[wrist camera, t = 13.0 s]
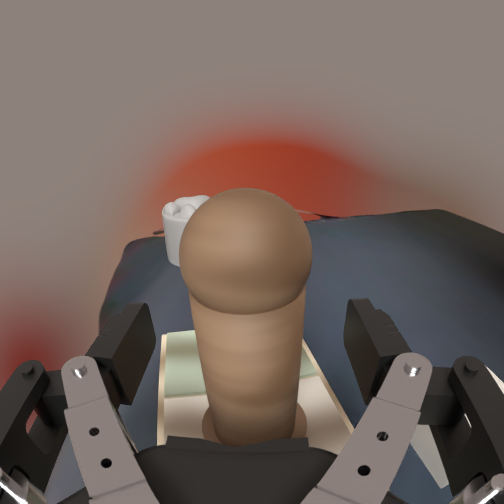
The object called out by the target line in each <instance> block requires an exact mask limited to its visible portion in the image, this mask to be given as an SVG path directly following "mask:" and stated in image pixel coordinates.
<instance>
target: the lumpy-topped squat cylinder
mask: <svg viewBox="0 0 504 504" xmlns="http://www.w3.org/2000/svg"><path fill="white" fill-rule="evenodd" d="M208 199H209V197H208V196H205V195H200V196H195V197H183V198H180V199H177V200H176V201H175V202H174V203H173V202H170V203H167V204H166V206H165V207H164V208H163V210H162V217H163V225H164V233H165V241H166V248H167V255H168V259H169V261H170V262H171V263H172V264H174V265H176V266H179V267H180V264H179V246H180V240H181V236H182V233H183V230H184V228H185V226H186V224H187V222H188V220H189V218H190V217H191V216H192V214H193V213H194V212H195V210H196V209H197V208H198V207H199V206H200V205H202V204H203V203H204V202H205V201H207V200H208Z"/></svg>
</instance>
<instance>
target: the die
mask: <svg viewBox="0 0 504 504" xmlns="http://www.w3.org/2000/svg"><path fill="white" fill-rule="evenodd" d="M487 369H488V368H487ZM488 370H489V369H488ZM489 372H490V373H491V375H492V377H493V378H494V380H495V381H496V383H497V384H498V386H499V387H500V389H501V391H502V392H503V394H504V383H503V382H502V381H501V380H500V379H499V378H498V377H497V376H496V375H495V374H494V373H493V372H492V371H491V370H489ZM465 416H466V414H465ZM466 418H467V416H466ZM467 420H468V418H467ZM468 422H469V420H468ZM469 425H470V422H469ZM470 427H471V425H470ZM410 444H411V445H412V447H413V448H414V450H415V451H416V453H417V454H418V456H419V457H420V459H421V460H422V462H423V463H424V465H425V466H426V467H427V469H428V470H429V472H430V473H431V475H432V476H433V478H434V479H435V481H436V483H437V484H438V486H439V487H440V489H442V488H443V487H445V486H446V485H448V484H449V482H448V479H447V476H446V473H445V470H444V467H443V464H442V461H441V458H440V455H439V452H438V449H437V446H436V444H435V441H434V438H433V435H432V433H431V430H430V427H429V425H417V426H416V428H415V431H414V434H413V436H412V439H411V441H410Z"/></svg>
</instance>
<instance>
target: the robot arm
mask: <svg viewBox="0 0 504 504" xmlns="http://www.w3.org/2000/svg"><path fill="white" fill-rule="evenodd" d="M155 344H156V337H155V332H154V328H153V324H152V319H151V315H150V311H149V307H148V305H147V304H146V303H128V304H127V306H126V307H125V308H124V310H123V311H122V313H121V314H117V315H116V316H114V317H113V318H112V319H110V320H109V321H108V322H107V324H106V325H105V327H104V328H103V330H102V331H101V332H100V334H99V336H98V337H97V338H96V340H95V341H94V343H93V344H92V346H91V347H90V349H89V350H88V352H87V353H86V355H85V356H78V357H75V358H72V359H70V360H69V361H67V362H66V363H65V365H64V366H63V368H62V370H56V371H46V370H45V368H44V366H43V364H42V363H41V362H40V361H37V360H30V361H26V362H24V363H22V364H21V365H19V366H18V367H17V368H16V370H15V371H14V372H13V374H12V375H11V377H10V378H9V380H8V381H7V382H6V384H5V385H4V387H3V388H2V390H1V391H0V504H46V498H45V496H44V492H45V489H46V487H47V484H48V481H49V478H50V476H51V473H52V470H53V468H54V465H55V462H56V460H57V457H58V455H59V452H60V450H61V447H62V445H63V442H64V440H65V438H66V435H67V433H68V431H69V434H70V438H71V442H72V445H73V449H74V452H75V455H76V459H77V462H78V465H79V468H80V471H81V474H82V477H83V480H84V482H85V485H86V487H84V488H82V489H81V490H79V491H78V492H76V493H74V494H73V495H71V496H69V497H68V498H66V499H64V500H63V501H61V502H59V503H57V504H408V503H406V502H405V501H403V500H402V499H400V498H399V497H397V496H396V495H394V494H393V493H391V492H390V491H388V489H389V487H390V485H391V483H392V481H393V479H394V477H395V475H396V473H397V471H398V469H399V467H400V464H401V462H402V460H403V458H404V455H405V453H406V451H407V448H408V446H409V444H410V441H411V439H412V436H413V434H414V431H415V428H416V426H417V425H429V427H430V430H431V433H432V435H433V438H434V441H435V444H436V446H437V449H438V452H439V455H440V458H441V461H442V464H443V467H444V470H445V473H446V476H447V479H448V482H449V486H450V489H451V492H452V496H453V498H452V499H451V501H450V502H449V504H504V394H503V392H502V391H501V389H500V387H499V386H498V384H497V383H496V381H495V380H494V378H493V377H492V375H491V373H490V372H489V370H488V369H487V367H486V366H485V365H484V363H482V362H481V361H480V360H478V359H477V358H474V357H470V356H463V357H460V358H458V359H456V361H455V362H454V364H453V367H452V368H441V367H432V365H431V363H430V361H429V360H428V359H427V358H425V357H424V356H422V355H420V354H417V353H412V351H411V350H410V348H409V347H408V345H407V343H406V342H405V340H404V338H403V337H402V335H401V334H400V332H398V329H397V327H396V326H395V325H394V322H393V321H392V319H391V318H390V316H389V315H387V314H386V313H385V312H383V311H382V310H380V309H379V310H375V309H374V307H373V305H372V304H371V302H370V301H369V299H368V298H363V299H350V300H349V301H348V305H347V313H346V320H345V327H344V345H345V348H346V351H347V354H348V356H349V359H350V362H351V365H352V368H353V370H354V373H355V376H356V379H357V382H358V385H359V388H360V391H361V394H362V396H363V399H364V402H365V405H369V406H368V408H367V409H366V411H365V413H364V415H363V416H362V418H361V420H360V421H359V423H358V425H357V426H356V428H355V430H354V431H353V433H352V435H351V436H350V438H349V439H348V441H347V443H346V444H345V446H344V447H343V449H342V450H341V452H340V453H339V455H337V454H335V453H332V452H330V451H327V450H324V449H320V448H316V447H309V442H308V437H305V438H291V439H272V440H268V441H264V442H259V443H255V444H250V445H245V446H240V447H233V446H228V445H224V444H220V443H216V442H212V441H209V440H205V439H201V438H190V437H179V436H170V435H168V436H167V440H166V444H165V445H158V446H153V447H150V448H147V449H144V450H142V451H139V452H138V450H137V448H136V446H135V444H134V442H133V440H132V438H131V436H130V434H129V432H128V430H127V428H126V426H125V424H124V421H123V419H122V417H121V415H120V413H119V411H118V408H119V406H120V404H124V405H131V404H132V402H133V399H134V397H135V394H136V392H137V389H138V387H139V385H140V382H141V380H142V377H143V375H144V372H145V370H146V368H147V365H148V363H149V361H150V358H151V356H152V353H153V351H154V349H155ZM33 409H34V411H35V412H36V414H37V415H38V416H37V418H36V420H35V422H34V424H33V425H32V427H31V429H30V431H29V433H28V434H27V432H26V422H27V420H28V418H29V416H30V415H31V412H32V411H33ZM465 414H466V416H467V418H468V420H469V422H470V425H471V427H470V425H469V422H468V420H467V418H466V416H465Z"/></svg>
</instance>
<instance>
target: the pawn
mask: <svg viewBox="0 0 504 504" xmlns="http://www.w3.org/2000/svg"><path fill="white" fill-rule="evenodd" d="M179 264H180V269H181V273H182V276H183V279H184V282H185V284H186V285H187V287H188V289H189V297H190V304H191V311H192V317H193V323H194V329H195V335H196V341H197V347H198V352H199V358H200V363H201V368H202V374H203V379H204V384H205V389H206V394H207V398H208V403H209V407H208V409H207V410H206V412H205V414H204V416H203V420H202V433H203V436H204V439H205V440H209V441H212V442H216V443H220V444H224V445H228V446H233V447H240V446H245V445H250V444H255V443H259V442H264V441H268V440H272V439H291V438H305V436H306V430H307V419H306V415H305V413H304V410H303V409H302V407H301V406H300V405H299V403H298V402H297V399H298V389H299V378H300V366H301V354H302V341H303V326H304V310H305V291H306V286H305V284H306V282H307V279H308V277H309V274H310V270H311V265H312V244H311V239H310V236H309V233H308V230H307V227H306V225H305V223H304V221H303V220H302V218H301V217H300V215H299V214H298V213H297V212H296V210H295V209H294V208H293V207H292V206H291V205H290V204H288V203H287V202H286V201H285V200H283V199H282V198H280V197H278V196H277V195H275V194H272V193H270V192H267V191H264V190H260V189H255V188H237V189H231V190H227V191H224V192H221V193H219V194H217V195H215V196H213V197H211V198H209V199H208V200H207V201H205V202H204V203H203V204H202V205H200V206H199V207H198V208H197V209H196V210H195V212H194V213H193V214H192V216H191V217H190V218H189V220H188V222H187V224H186V226H185V228H184V230H183V233H182V236H181V240H180V246H179Z"/></svg>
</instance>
